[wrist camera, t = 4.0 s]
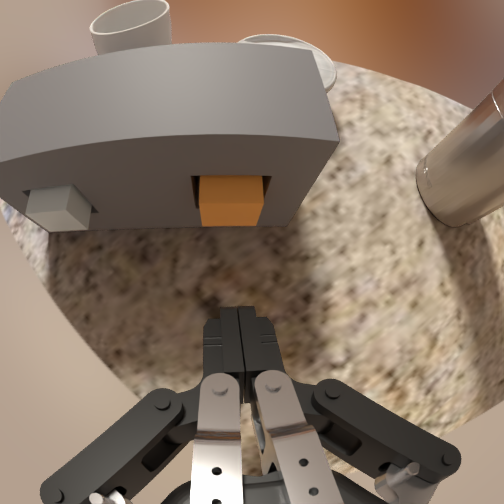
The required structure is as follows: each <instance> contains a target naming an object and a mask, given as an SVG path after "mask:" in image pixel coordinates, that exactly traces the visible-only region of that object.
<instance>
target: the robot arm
mask: <svg viewBox="0 0 504 504" xmlns="http://www.w3.org/2000/svg"><path fill="white" fill-rule="evenodd" d="M416 180H417V185H418V188H419V191H420V194H421V196H422V198H423V200H424V202H425V204H426V205H427V207H428V208H429V210H430V211H431V212H432V213H433V215H434V216H435V217H436V218H438V219H439V220H440V221H441V222H443V223H444V224H446V225H448V226H451V227H458V226H461V225H463V224H465V223H468V224H471V223H473V222H475V221H477V220H479V219H481V218H483V217H485V216H486V215H488V214H490V213H492V212H494V211H495V210H497V209H499V208H501V207H503V206H504V78H503V79H502V80H501V81H500V83H498V85H496V87H495V88H494V89H493V90H492V91H491V92H490V93H489V94H488V95H487V96H486V98H485V99H483V100H482V101H481V102H480V103H479V105H478V106H476V107H475V108H474V110H473V111H472V112H471V113H470V114H469V115H468V116H467V117H466V118H465V119H464V120H463V121H462V122H461V123H460V124H459V125H458V126H456V127H455V128H454V129H453V130H452V131H451V132H450V133H449V134H448V135H447V136H446V137H445V138H444V139H443V140H442V141H441V142H440V143H439V144H438V145H437V146H436V147H435V148H434V149H433V150H432V151H431V152H429V153H428V154H427V155H426V156H425V157H424V158H423V159H422V160H421V161H420V162H419V164H418V165H417V169H416ZM203 338H204V339H203V378H202V380H201V382H200V383H199V384H198V385H197V386H196V387H195V388H193V389H191V390H188V391H185V392H181V393H178V394H177V393H176V392H174V391H172V390H170V389H166V388H160V389H156V390H153V391H151V392H150V393H148V394H147V395H146V396H145V397H144V398H143V399H142V400H141V401H139V402H138V403H137V404H136V405H135V406H134V407H133V408H132V409H130V410H129V411H128V412H127V413H126V414H125V415H123V416H122V417H121V418H120V419H119V420H118V421H117V422H115V423H114V424H113V425H112V426H111V427H110V428H108V429H107V430H106V431H105V432H104V433H103V434H101V435H100V436H99V437H98V438H97V439H95V440H94V441H93V442H92V443H91V444H90V445H88V446H87V447H86V448H85V449H83V451H81V452H80V453H79V454H77V455H76V456H75V457H74V458H73V459H71V460H70V461H69V462H68V463H67V464H65V465H64V466H63V467H61V468H60V469H59V470H58V471H56V472H55V473H54V474H53V475H52V476H50V477H49V478H48V479H46V480H45V481H44V482H43V483H42V485H41V488H40V496H41V499H42V502H43V503H44V504H133V503H132V502H131V501H130V500H131V499H132V498H133V497H134V496H135V495H136V494H137V493H139V492H140V491H141V490H142V489H143V488H144V487H145V486H146V485H147V484H148V483H149V482H150V481H151V480H152V479H153V478H154V477H155V476H156V475H157V474H158V473H159V472H161V471H162V470H163V469H164V467H166V465H168V463H169V462H170V461H171V460H172V459H173V458H174V457H175V456H176V455H177V454H178V453H179V452H180V451H181V450H182V449H183V448H184V447H185V446H186V445H187V444H188V443H189V441H191V440H194V446H193V461H192V479H191V481H188V482H186V483H184V484H182V485H181V486H179V487H177V488H176V489H175V490H174V491H172V492H171V493H170V494H169V495H168V496H167V497H166V499H165V500H164V501H163V502H162V503H161V504H428V503H429V501H430V499H431V498H432V496H433V494H434V492H435V490H436V488H437V486H438V484H439V483H440V482H441V481H442V480H444V479H445V478H447V477H448V476H450V475H452V474H453V473H455V472H456V471H457V470H458V468H459V466H460V464H461V454H460V452H459V450H458V449H457V448H456V447H455V446H453V445H451V444H450V443H448V442H446V441H444V440H442V439H440V438H438V437H436V436H434V435H432V434H430V433H429V432H427V431H425V430H423V429H421V428H419V427H417V426H416V425H414V424H412V423H410V422H408V421H407V420H405V419H403V418H401V417H400V416H398V415H396V414H394V413H393V412H391V411H389V410H387V409H386V408H384V407H382V406H381V405H379V404H377V403H376V402H374V401H372V400H370V399H369V398H367V397H366V396H364V395H362V394H361V393H359V392H357V391H356V390H354V389H352V388H351V387H349V386H348V385H346V384H344V383H343V382H341V381H339V380H336V379H325V380H322V381H320V382H319V383H318V384H317V385H310V384H303V383H299V382H296V381H294V380H293V379H291V378H290V377H289V376H288V375H287V374H286V372H285V369H284V366H283V362H282V358H281V354H280V350H279V346H278V343H277V338H276V336H275V330H274V326H273V324H272V323H271V322H270V320H269V319H268V318H267V317H256V312H255V307H254V306H238V307H220V319H208V321H207V322H206V324H205V326H204V332H203ZM243 395H244V403H250V404H251V411H252V413H251V421H252V425H253V429H254V433H255V437H256V441H257V445H258V449H259V453H260V459H261V468H262V473H263V476H260V477H256V476H248V475H242V458H241V435H240V407H241V404H243ZM322 447H324V448H325V449H327V450H328V451H330V452H331V453H333V454H334V455H336V456H337V457H339V458H341V459H342V460H344V461H345V462H347V463H348V464H350V465H352V466H353V467H355V468H357V469H358V470H360V471H362V472H363V473H365V474H367V475H368V476H370V477H372V478H374V479H375V483H374V485H375V490H376V492H377V493H378V494H379V495H380V496H381V497H383V498H384V500H385V501H384V500H382V499H380V498H379V497H377V496H375V495H374V494H372V493H371V492H369V491H367V490H366V489H364V488H363V487H361V486H359V485H358V484H356V483H355V482H353V481H352V480H350V479H349V478H347V477H346V476H344V475H342V474H340V473H338V472H336V471H333V470H331V469H330V466H329V463H328V461H327V458H326V455H325V453H324V450H323V448H322Z"/></svg>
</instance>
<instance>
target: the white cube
mask: <svg viewBox="0 0 504 504" xmlns="http://www.w3.org/2000/svg"><path fill="white" fill-rule="evenodd" d="M91 207H92V204H91V203H90V202H89V201H88V200H87V199H86V197H85V196H84V195H83V194H82V193H81V192H80V191H79V189H78V188H77V187H76V186H75V185H74V184H68V185H60V186H53V187H46V188H39V189H32V190H31V191H30V195H29V199H28V203H27V208H26V212H25V214H26V215H27V216H28V217H30V218H31V219H33V220H34V221H35V222H37V223H38V224H40V225H41V226H42V227H44V228H45V229H47V230H48V231H50V232H55V231H73V230H88V227H89V220H90V214H91Z"/></svg>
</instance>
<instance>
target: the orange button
mask: <svg viewBox="0 0 504 504" xmlns="http://www.w3.org/2000/svg"><path fill="white" fill-rule="evenodd" d="M263 205H264V196H263V182H262V176H259V175H200V186H199V207H200V214H201V221H202V226H256V224H257V222H258V219H259V216H260V213H261V210H262V207H263Z"/></svg>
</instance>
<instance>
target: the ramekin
mask: <svg viewBox="0 0 504 504" xmlns="http://www.w3.org/2000/svg"><path fill="white" fill-rule="evenodd" d="M238 43H249V44H264V45H275V46H284V47H293V48H300V49H307V50H312V52H313V55H314V58H315V61H316V64H317V67H318V69H319V72H320V75H321V78H322V81H323V85H324V88H325V91H326V93H328V92H329V91H330V90H331V89H332V87H333V86H334V84H335V81H336V78H337V71H336V67H335V65H334V64H333V62H332V61H331V60H330V58H329V57H328V56H327V55H326V54H325V53H323V52H322V51H321V50H319V49H318V48H316V47H315V46H313V45H311V44H309V43H307V42H304V41H302V40H299V39H296V38H293V37H289V36H283V35H275V34H262V35H255V36H250V37H247V38H245V39H243V40H241V41H239V42H238Z"/></svg>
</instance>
